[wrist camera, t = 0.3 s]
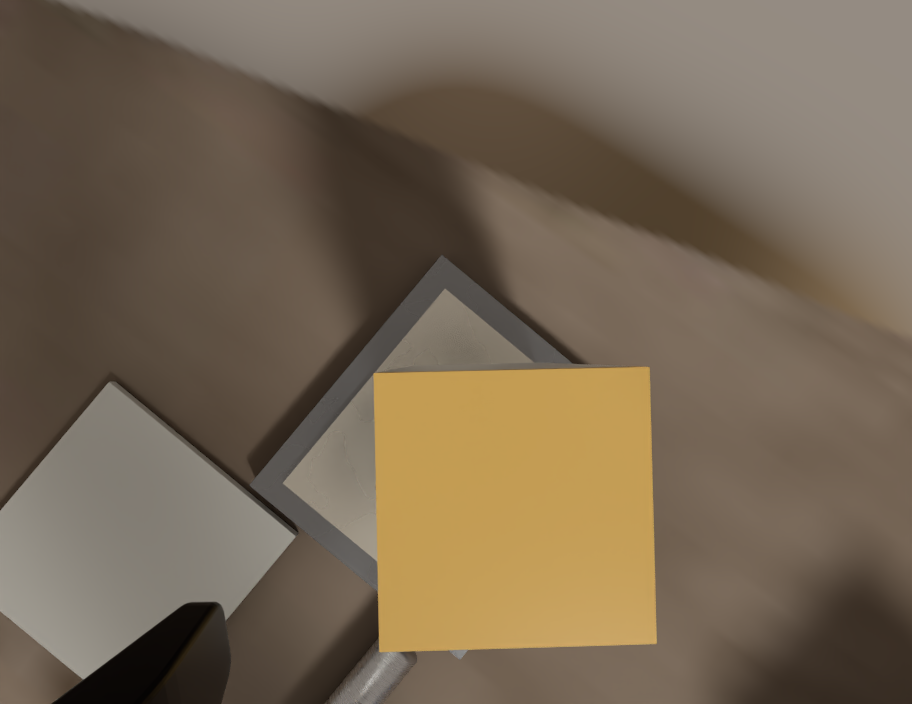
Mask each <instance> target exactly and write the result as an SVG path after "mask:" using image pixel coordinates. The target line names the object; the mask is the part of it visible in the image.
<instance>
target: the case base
mask: <svg viewBox="0 0 912 704" xmlns="http://www.w3.org/2000/svg"><path fill="white" fill-rule="evenodd" d="M536 362H538V363H563V364H573V363H571V362H570V361H569V360H568V359H567V358H565V357H564V356H563V355H562V354H561V353H559V352H558V351H557V350H556V349H555V348H553V347H552V346H551V345H550V344H549V343H547V342H546V341H545V340H544V339H543V338H541V337H540V336H539V335H538V334H537V333H535V332H534V331H533V330H532V329H531V328H529V327H528V326H527V325H526V324H525V323H523V322H522V321H521V320H520V319H519V318H517V317H516V316H515V315H514V314H513V313H511V312H510V311H509V310H508V309H507V308H505V307H504V306H503V305H502V304H501V303H499V302H498V301H497V300H496V299H495V298H493V297H492V296H491V295H490V294H489V293H487V292H486V291H485V290H484V289H483V288H481V287H480V286H479V285H478V284H477V283H475V282H474V281H473V280H472V279H471V278H469V277H468V276H467V275H466V274H465V273H463V272H462V271H461V270H460V269H459V268H457V267H456V266H455V265H454V264H452V263H451V262H450V261H449V260H448V259H446V258H445V257H444V256H443V255H441V256H440V258H439V259H438V260H437V261H436V262H435V264H434V265H433V266H432V267H431V268H430V270H429V271H428V272H427V273H426V274H425V275H424V277H423V278H422V279H421V280H420V281H419V283H418V284H417V285H416V286H415V287H414V289H413V290H412V291H411V292H410V293H409V295H408V296H407V297H406V298H405V299H404V301H403V302H402V303H401V304H400V305H399V307H398V308H397V309H396V310H395V311H394V313H393V314H392V315H391V316H390V317H389V319H388V320H387V321H386V322H385V323H384V325H383V326H382V327H381V328H380V329H379V331H378V332H377V333H376V334H375V335H374V337H373V338H372V339H371V340H370V341H369V343H368V344H367V345H366V346H365V347H364V349H363V350H362V351H361V352H360V353H359V355H358V356H357V357H356V358H355V359H354V361H353V362H352V363H351V364H350V365H349V367H348V368H347V369H346V370H345V371H344V372H343V374H342V375H341V376H340V377H339V378H338V380H337V381H336V382H335V383H334V384H333V386H332V387H331V388H330V389H329V390H328V392H327V393H326V394H325V395H324V396H323V398H322V399H321V400H320V401H319V402H318V404H317V405H316V406H315V407H314V408H313V410H312V411H311V412H310V413H309V414H308V416H307V417H306V418H305V419H304V420H303V422H302V423H301V424H300V425H299V426H298V428H297V429H296V430H295V431H294V432H293V434H292V435H291V436H290V437H289V438H288V440H287V441H286V442H285V443H284V444H283V446H282V447H281V448H280V449H279V450H278V452H277V453H276V454H275V455H274V456H273V458H272V459H271V460H270V461H269V462H268V464H267V465H266V466H265V467H264V468H263V469H262V471H261V472H260V473H259V474H258V475H257V477H256V478H255V479H254V480H253V481H252V483H251V484H250V485H249V486H251V487H252V488H253V489H254V490H255V491H257V492H258V493H259V494H260V495H261V496H263V497H264V498H265V499H266V500H267V501H269V502H270V503H271V504H272V505H273V506H275V507H276V508H277V509H278V510H280V511H281V512H282V513H283V514H284V515H286V516H287V517H288V518H289V519H290V520H292V521H293V522H294V523H295V524H296V525H298V526H299V527H300V528H301V529H302V530H304V531H305V532H306V533H307V534H309V535H310V536H311V537H312V538H313V539H315V540H316V541H317V542H318V543H319V544H321V545H322V546H323V547H324V548H325V549H327V550H328V551H329V552H330V553H331V554H333V555H334V556H335V557H336V558H337V559H339V560H340V561H341V562H342V563H344V564H345V565H346V566H347V567H348V568H350V569H351V570H352V571H353V572H354V573H356V574H357V575H358V576H359V577H360V578H362V579H363V580H364V581H365V582H366V583H368V584H369V585H370V586H371V587H373V588H374V589H375V590H376V591H377V592H378V566H377V517H376V469H375V421H374V373H377V372H382V371H387V370H392V369H398V368H403V367H408V366H413V365H447V364H492V363H536ZM449 651H450V652H451V653H452V654H453V655H455V656H456V657H457V658H458V659H459V660H460V659H461V658H462V657H463V655H464V654H465V653H466V652H467V650H449Z"/></svg>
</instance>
